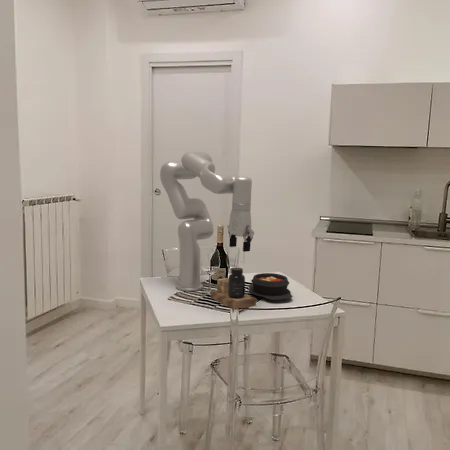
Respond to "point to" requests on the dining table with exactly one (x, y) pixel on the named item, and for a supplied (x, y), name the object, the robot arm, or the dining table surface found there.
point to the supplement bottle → (236, 283)
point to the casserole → (270, 286)
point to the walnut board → (233, 300)
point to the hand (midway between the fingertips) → (239, 248)
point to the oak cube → (223, 285)
